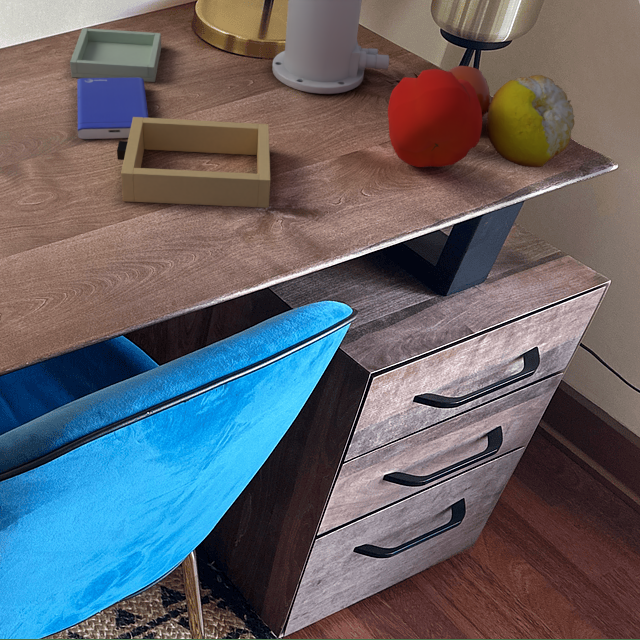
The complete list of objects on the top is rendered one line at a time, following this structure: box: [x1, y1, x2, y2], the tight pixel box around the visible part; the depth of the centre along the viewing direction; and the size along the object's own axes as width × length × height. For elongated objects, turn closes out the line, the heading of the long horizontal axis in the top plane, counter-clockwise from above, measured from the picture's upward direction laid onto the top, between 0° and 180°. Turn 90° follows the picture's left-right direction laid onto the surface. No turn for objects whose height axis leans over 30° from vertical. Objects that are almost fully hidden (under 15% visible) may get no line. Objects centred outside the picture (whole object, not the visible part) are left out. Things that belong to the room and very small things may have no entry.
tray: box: [69, 27, 162, 83], centre depth 111 cm, size 11×11×2 cm
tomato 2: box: [447, 65, 491, 118], centre depth 106 cm, size 7×7×8 cm
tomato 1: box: [387, 68, 483, 168], centre depth 95 cm, size 11×12×9 cm
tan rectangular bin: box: [116, 117, 271, 209], centre depth 92 cm, size 16×12×4 cm
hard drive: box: [76, 78, 149, 140], centre depth 101 cm, size 2×8×12 cm
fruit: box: [485, 74, 576, 168], centre depth 99 cm, size 11×10×8 cm
